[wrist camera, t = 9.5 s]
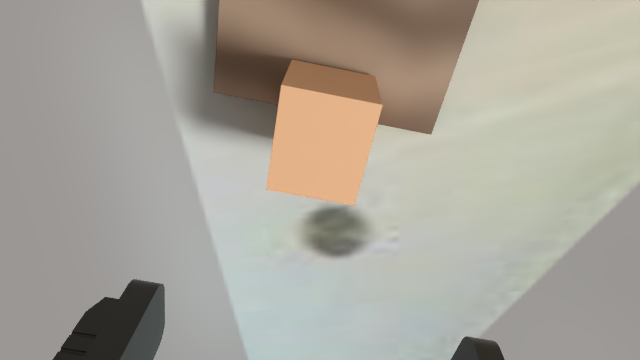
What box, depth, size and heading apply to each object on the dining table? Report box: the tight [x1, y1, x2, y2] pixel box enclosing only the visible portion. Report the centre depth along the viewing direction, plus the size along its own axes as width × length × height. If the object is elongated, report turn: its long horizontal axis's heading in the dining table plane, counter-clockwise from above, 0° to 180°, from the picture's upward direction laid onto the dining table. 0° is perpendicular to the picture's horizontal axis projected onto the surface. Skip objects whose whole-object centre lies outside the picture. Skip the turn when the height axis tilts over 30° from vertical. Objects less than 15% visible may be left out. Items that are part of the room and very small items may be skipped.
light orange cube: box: [266, 60, 383, 206], centre depth 23 cm, size 6×5×5 cm
